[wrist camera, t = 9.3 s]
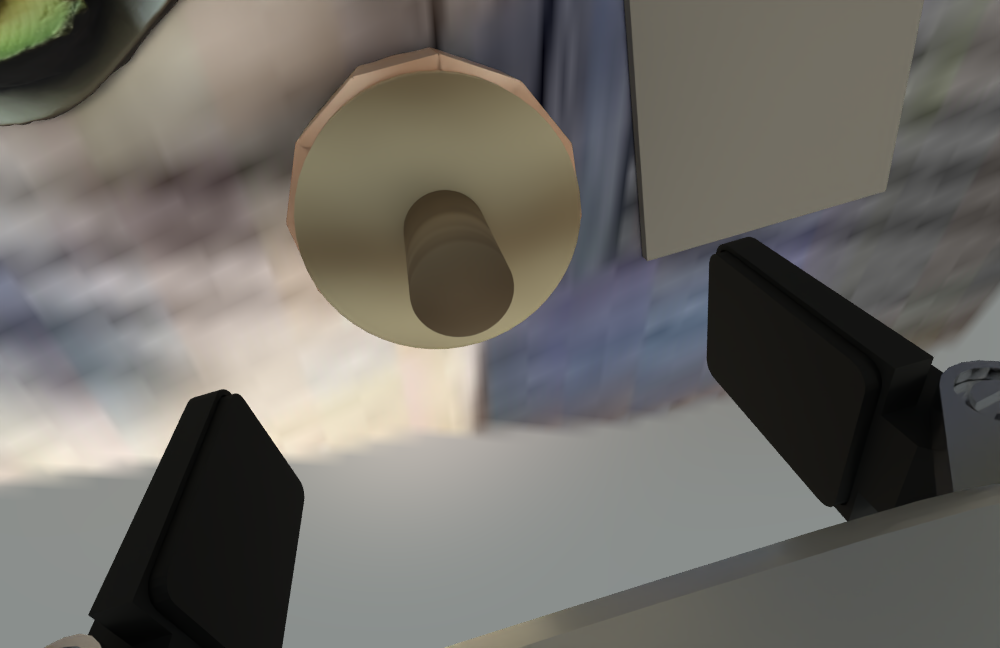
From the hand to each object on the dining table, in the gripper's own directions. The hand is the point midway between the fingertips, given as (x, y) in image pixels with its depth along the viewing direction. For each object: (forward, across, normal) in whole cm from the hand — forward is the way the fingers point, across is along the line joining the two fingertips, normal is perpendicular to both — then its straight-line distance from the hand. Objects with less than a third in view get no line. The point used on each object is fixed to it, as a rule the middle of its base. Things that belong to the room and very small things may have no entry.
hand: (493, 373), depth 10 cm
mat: (+16, -17, +1) cm, 23 cm away
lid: (+11, 0, +1) cm, 11 cm away
